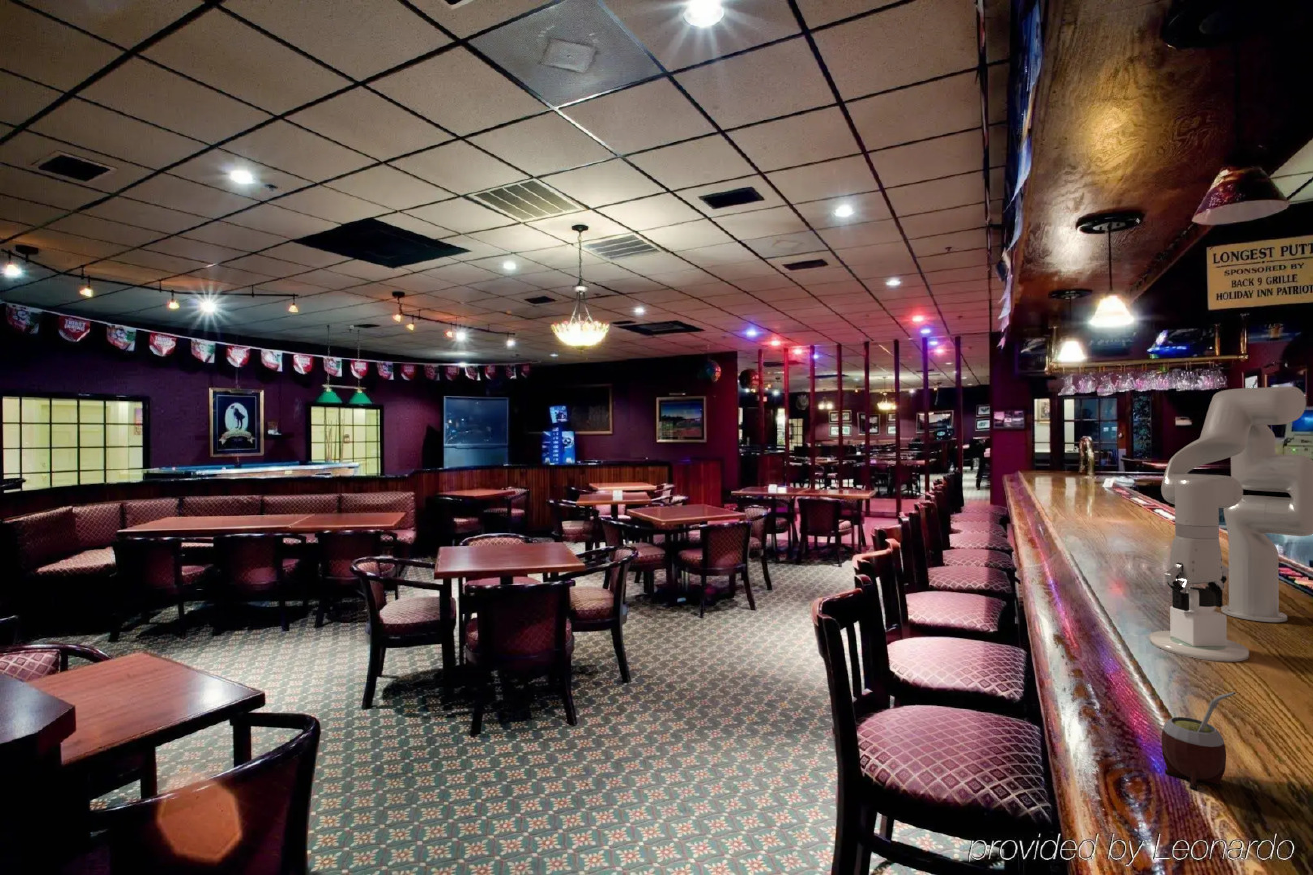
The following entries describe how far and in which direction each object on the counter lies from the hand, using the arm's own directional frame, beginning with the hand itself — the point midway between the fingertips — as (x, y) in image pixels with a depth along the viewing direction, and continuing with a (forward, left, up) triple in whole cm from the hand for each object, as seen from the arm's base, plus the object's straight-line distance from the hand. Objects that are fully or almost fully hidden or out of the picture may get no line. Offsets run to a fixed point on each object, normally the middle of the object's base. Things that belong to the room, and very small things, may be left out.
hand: (1197, 607), depth 143 cm
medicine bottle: (0, 0, -8) cm, 8 cm away
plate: (0, 0, -9) cm, 9 cm away
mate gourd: (+70, +2, -9) cm, 71 cm away
